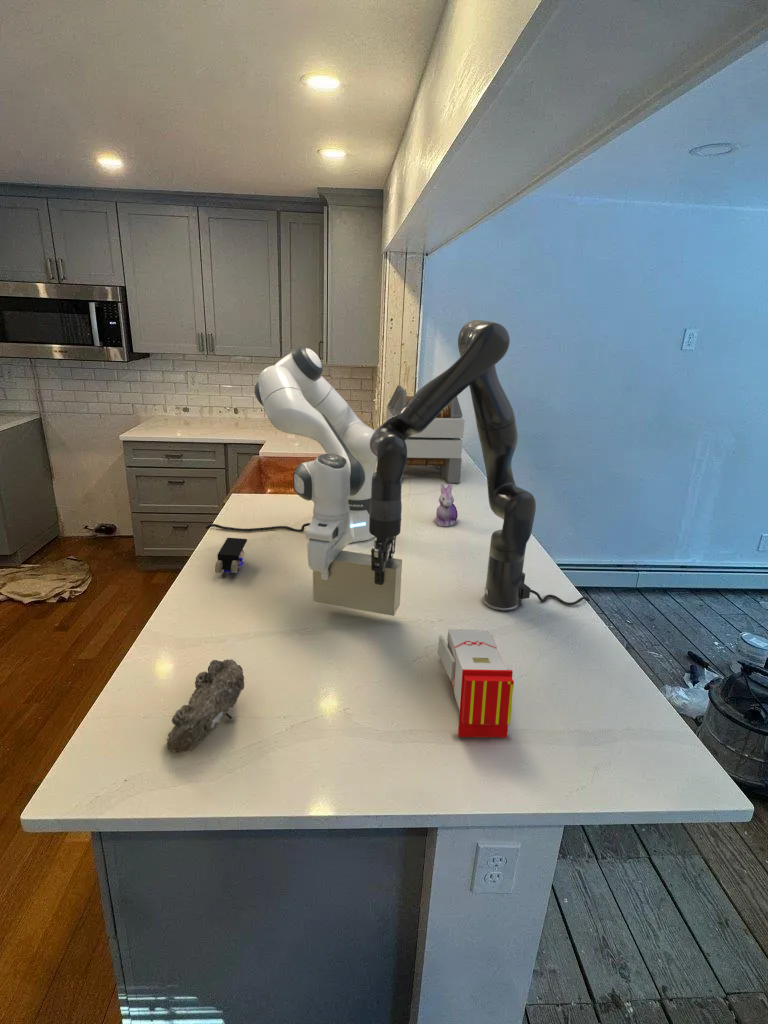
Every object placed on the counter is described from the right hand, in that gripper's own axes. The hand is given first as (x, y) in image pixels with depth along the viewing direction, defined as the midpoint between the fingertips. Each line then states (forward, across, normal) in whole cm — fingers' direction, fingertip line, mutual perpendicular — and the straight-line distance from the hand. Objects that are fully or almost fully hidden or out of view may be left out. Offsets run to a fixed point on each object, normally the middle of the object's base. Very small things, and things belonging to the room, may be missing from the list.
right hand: (382, 577), depth 140 cm
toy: (+12, -21, -25) cm, 35 cm away
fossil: (+12, -45, +20) cm, 51 cm away
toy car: (+12, +13, +50) cm, 53 cm away
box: (+8, 0, +7) cm, 11 cm away
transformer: (+13, +139, +21) cm, 141 cm away
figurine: (+12, +76, -3) cm, 77 cm away
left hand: (+1, 0, +14) cm, 14 cm away
